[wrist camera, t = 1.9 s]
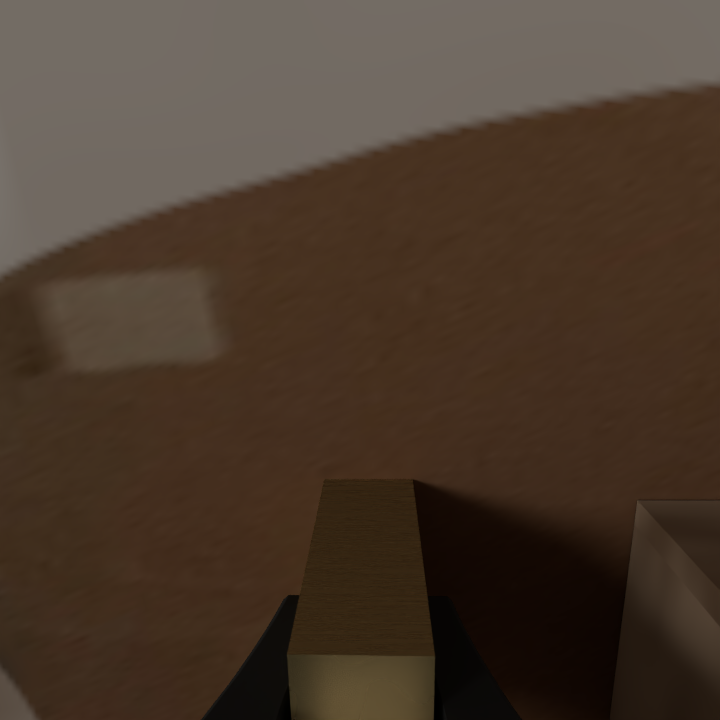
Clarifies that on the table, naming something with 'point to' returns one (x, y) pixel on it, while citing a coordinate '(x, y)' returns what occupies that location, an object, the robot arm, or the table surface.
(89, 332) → the table surface
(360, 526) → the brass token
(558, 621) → the table surface
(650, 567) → the beige block with hole
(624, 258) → the table surface
